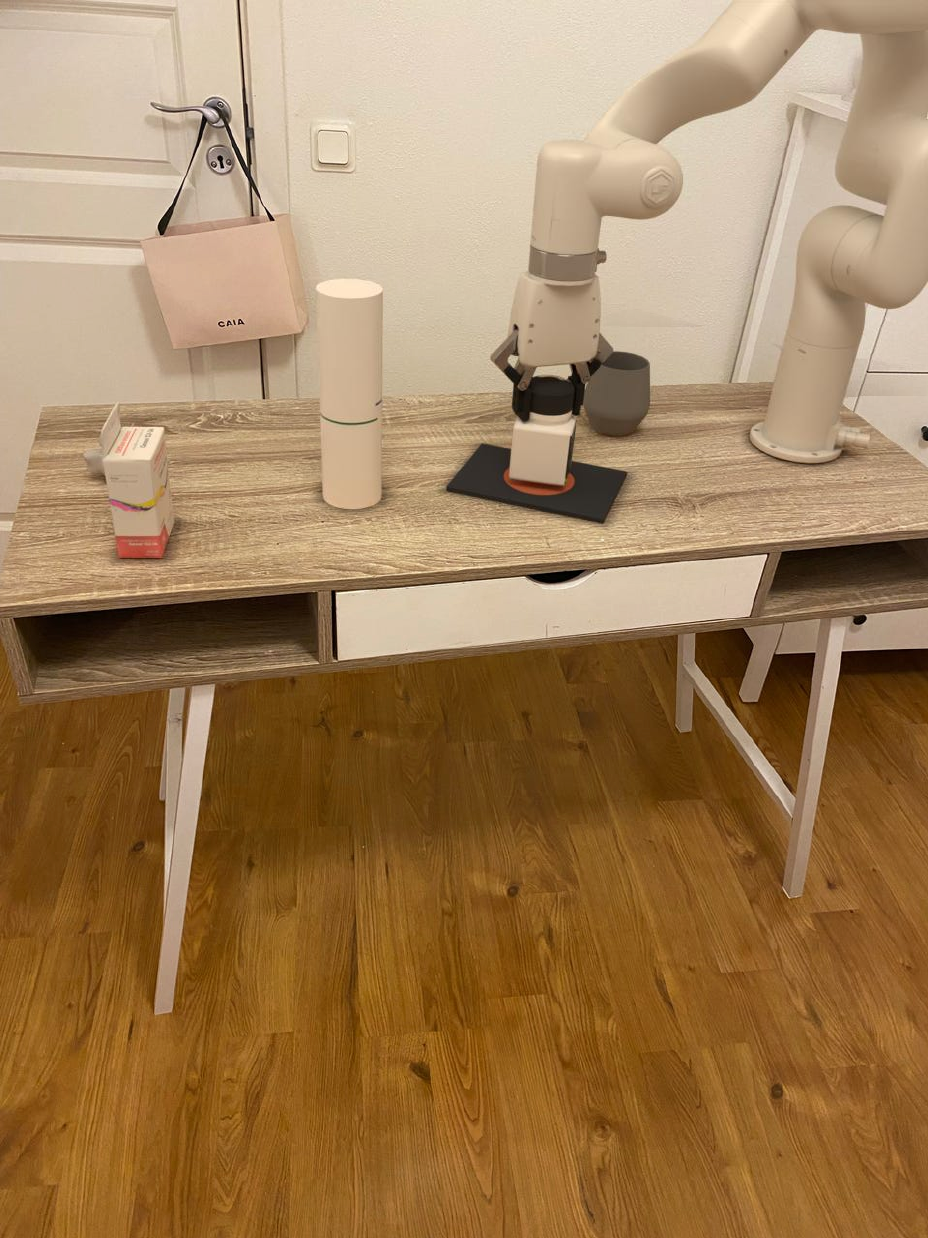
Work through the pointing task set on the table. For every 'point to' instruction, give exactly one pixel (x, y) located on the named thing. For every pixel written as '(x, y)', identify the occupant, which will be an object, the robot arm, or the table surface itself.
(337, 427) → the cylindrical container
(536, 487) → the mat
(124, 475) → the ink cartridge box
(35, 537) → the table surface
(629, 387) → the cup
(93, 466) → the rubber duck
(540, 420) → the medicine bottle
